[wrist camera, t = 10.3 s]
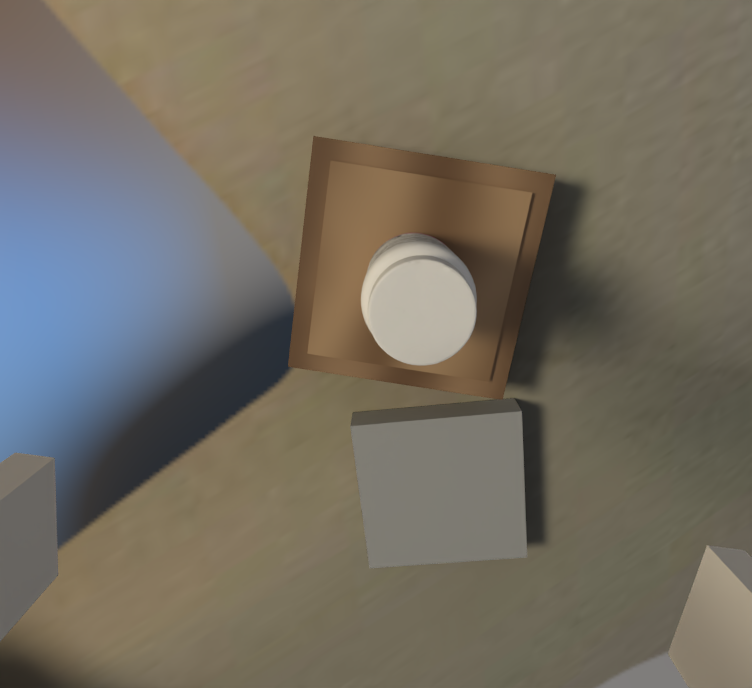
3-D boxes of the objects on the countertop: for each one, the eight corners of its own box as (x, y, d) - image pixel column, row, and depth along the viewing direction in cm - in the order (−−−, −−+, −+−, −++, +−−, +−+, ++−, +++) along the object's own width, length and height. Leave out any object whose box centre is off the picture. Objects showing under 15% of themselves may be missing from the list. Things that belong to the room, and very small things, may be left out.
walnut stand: (297, 350, 32) (287, 367, 29) (321, 141, 28) (312, 135, 25) (492, 381, 32) (503, 401, 29) (539, 176, 28) (557, 174, 25)
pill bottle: (456, 324, 28) (482, 379, 20) (366, 322, 28) (355, 375, 20) (462, 232, 26) (492, 250, 18) (367, 230, 26) (356, 247, 18)
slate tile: (370, 547, 35) (369, 568, 34) (353, 412, 33) (350, 426, 31) (519, 537, 35) (527, 557, 33) (514, 398, 32) (521, 411, 30)
